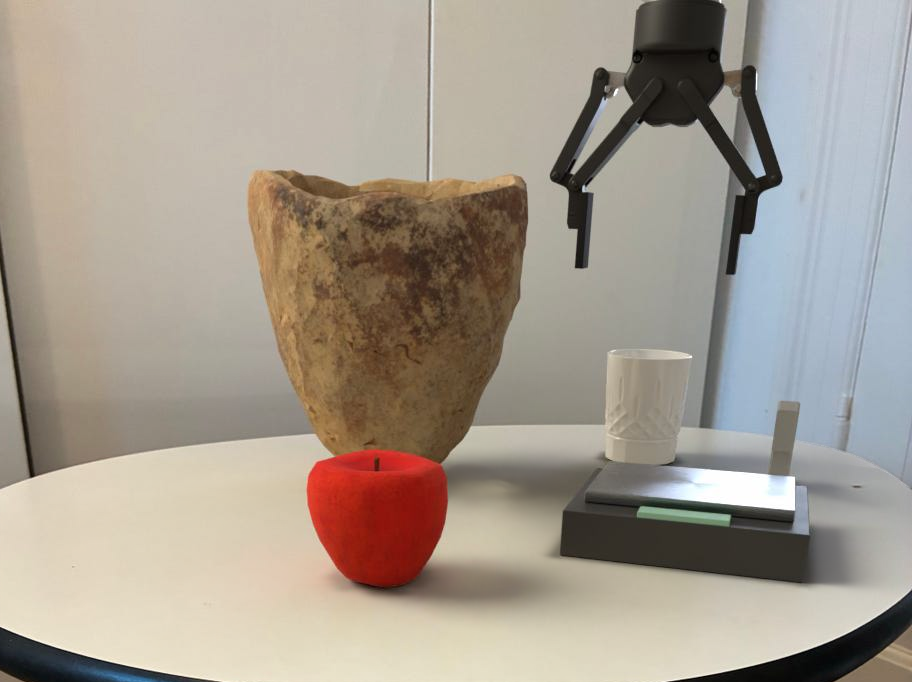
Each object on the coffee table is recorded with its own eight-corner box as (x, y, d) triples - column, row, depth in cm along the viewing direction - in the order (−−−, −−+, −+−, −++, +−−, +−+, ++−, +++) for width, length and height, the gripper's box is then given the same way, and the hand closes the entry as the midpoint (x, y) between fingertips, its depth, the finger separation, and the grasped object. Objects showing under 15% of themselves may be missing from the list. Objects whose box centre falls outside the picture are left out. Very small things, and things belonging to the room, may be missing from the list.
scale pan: (793, 487, 77) (795, 476, 77) (793, 522, 68) (795, 510, 67) (608, 470, 81) (608, 460, 80) (584, 501, 72) (584, 490, 71)
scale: (801, 527, 79) (808, 481, 77) (802, 582, 66) (811, 529, 65) (594, 506, 83) (597, 462, 82) (559, 555, 71) (562, 504, 69)
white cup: (582, 456, 101) (590, 352, 97) (632, 446, 106) (641, 347, 102) (647, 471, 95) (658, 361, 92) (696, 460, 100) (709, 355, 96)
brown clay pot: (244, 509, 80) (225, 158, 71) (275, 450, 101) (263, 172, 92) (528, 511, 81) (548, 165, 72) (501, 452, 102) (513, 177, 92)
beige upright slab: (767, 479, 93) (780, 390, 90) (787, 481, 93) (801, 391, 90) (764, 497, 87) (778, 402, 84) (785, 499, 86) (800, 404, 83)
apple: (310, 556, 69) (306, 441, 66) (438, 555, 70) (441, 441, 67) (307, 602, 61) (304, 473, 58) (453, 600, 62) (457, 472, 59)
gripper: (526, -1, 86) (512, 267, 94) (841, -12, 79) (796, 278, 87) (546, 15, 93) (531, 264, 101) (837, 6, 86) (796, 275, 94)
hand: (654, 271), depth 94 cm, fingers open, 13 cm apart
